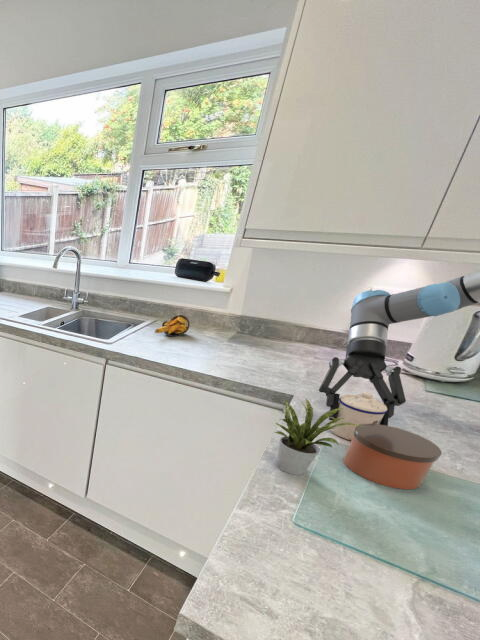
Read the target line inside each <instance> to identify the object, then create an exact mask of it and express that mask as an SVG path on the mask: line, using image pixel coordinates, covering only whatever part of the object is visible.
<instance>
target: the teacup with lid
mask: <svg viewBox="0 0 480 640" xmlns="http://www.w3.org/2000/svg"><path fill="white" fill-rule="evenodd" d="M338 408H344V409H342V410H339V411H337V417H336V418H335V419H337V418H345V419H340V420H339V421H337V422H335V423H337V424H340V423H353V424H357V425H361V424H380V422H381V420H382V418H383V416H384V414H385V413H386V412H387V407H386V405H384V403H383V402H381V401H379V400H378V399H377V398H374V397H373V393H372V392H369V391H363V392H362V393H360V394H344V395H342V396H340V397H339V404H338ZM330 421H332V420H330ZM333 425H336V424H331V425H330V426H333ZM333 428H334V429H329V431H330V432H331V433H332V434H333V435H335V436H338V437H340V438H342V439H344V440H348V441H351V440H352V438H353V436H354V435H353V432H354V430H355V428H356V426H355V425H342V426H337V427H333Z"/></svg>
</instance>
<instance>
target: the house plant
mask: <svg viewBox="0 0 480 640" xmlns="http://www.w3.org/2000/svg"><path fill="white" fill-rule="evenodd" d="M282 401H283V402H284V403H285V405H286V406H285V411H284V412H283V411H281V410H279V412H280V413H282V414H284V418H282V419H280V418H279V421H283V422H284V423H286V426H287V427H286V426H284V425H282V424H280V423H278V422H275V424H276V425H277V426H278V427H280V428H281V429H282V430H283V431H285V432H286V433H287V434H288V435H286V434H285V433H284V432H283V431H279V430H278V431H274V432H273V434H278V435H281V436H282V437H280V438H279V442H278V449H277V457H276V463H275V465H276V467H277V468H278V469H279V470H281V471H283V472H285V473H287V474H289V475H294V476H302V475H304V474H305V473H306V471H307V470H308V468H309V467H310V465H311V464H312V463H313V461H314V460H315V458H316V457H317V456H318V454H319V453H320V448H319V446H317V445H320V446H325V447H329V448H332V449H333V450H335V448H334V447H333V445H332V444H331V443H334V444H336V445H339V442H338V440H336V439H335V438H333V437H322V438H319V439H316V438H317V437H318V436H320V435H321V434H322V433H325V432H326V431H330V429H334V428H333V427H337V426H342V425H355V426H360V425H357V424H353V423H340V424H337V423H335V422H337V421H339V420H340V419H345V418H337V419H335V418H333V417H329V416H331V415H333V414H334V413H336V412H337V411H339V410H342V409H344V408H338V409H333V410H331V411H330V410H328V411H327V412H325V413H323V414H322V415H321V416H319V417H318V419H317V420H316V421H315V422H314V423H313V425H312V422H313V416H314V408H313V406H312V405H311V403H310V401H309V399H307V398H305V403H304V402H303V401H302V400H300V402H301V403H302V404H303V407H304V409H305V418H304V422H302V423H301V424H300V422H299V418H298V415H297V412H296V410H295V409H294V408H293V406H291V404H290V403H289V402H288V401H286V400H284V399H282ZM305 404H306V405H305ZM329 418H333V419H334V420H332V421H331V420H329V421H328V422H327V423H325V424H324V425H323V426H321V427H319V426H320V425H321V424H322V423H323V422H324V421H326V420H327V419H329ZM331 424H336V425H333V426H330V425H331ZM361 427H363V426H361ZM315 439H316V440H315ZM314 440H315V441H314Z"/></svg>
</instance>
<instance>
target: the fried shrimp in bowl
mask: <svg viewBox="0 0 480 640" xmlns="http://www.w3.org/2000/svg"><path fill="white" fill-rule="evenodd" d="M190 323H191V322H190V320H189V318H188V317H187V316H186V315H183V314H177V315H175V316H173V317H171V318H170V320H168V321H167V320H165V321H163V322H162V324H161V327H158V328H156V329H155V330H154V334H162V333H163V334H165V335H167V336H168V337H177V336H178V337H179V336H182V335H184V334H186V333H187V332H188V331H189V329H190V327H191V325H190Z"/></svg>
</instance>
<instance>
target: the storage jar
mask: <svg viewBox="0 0 480 640" xmlns="http://www.w3.org/2000/svg"><path fill="white" fill-rule="evenodd" d="M361 426H363V427H361ZM353 435H354V436H353V438H352V440H350V443H349V445H348V447H347V448H346V451H345V454H344V456H343V458H342V462H343V463H344V466H346V467H347V469H349V470H350V471H352V472H353V473H355V474H356V475H358V476H360V477H362V478H363V479H365V480H368V481H370V482H373V483H376V484H378V485H382V486H384V487H388V488H392V489H398V490H399V489H400V490H416V489H419V488H420V487H421V486H422V485H423V482H424V481H425V479H426V477H427V476H428V474H429V472H430V471H431V468H432V467H433V465H434V463H435V462H437V461H439V459H440V458H441V456H442V450H441V448H440V447H439V446H438V445H437V444H436V443H434V442H432V441H431V440H429V439H428V438H425V437H423V436H421V435H419V434H416V433H413V432H411V431H408V430H405V429H402V428H398V427H394V426H391V425H388V426H386V425H379V424H361V425H360V426H356V428H355V430H354V432H353Z"/></svg>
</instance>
